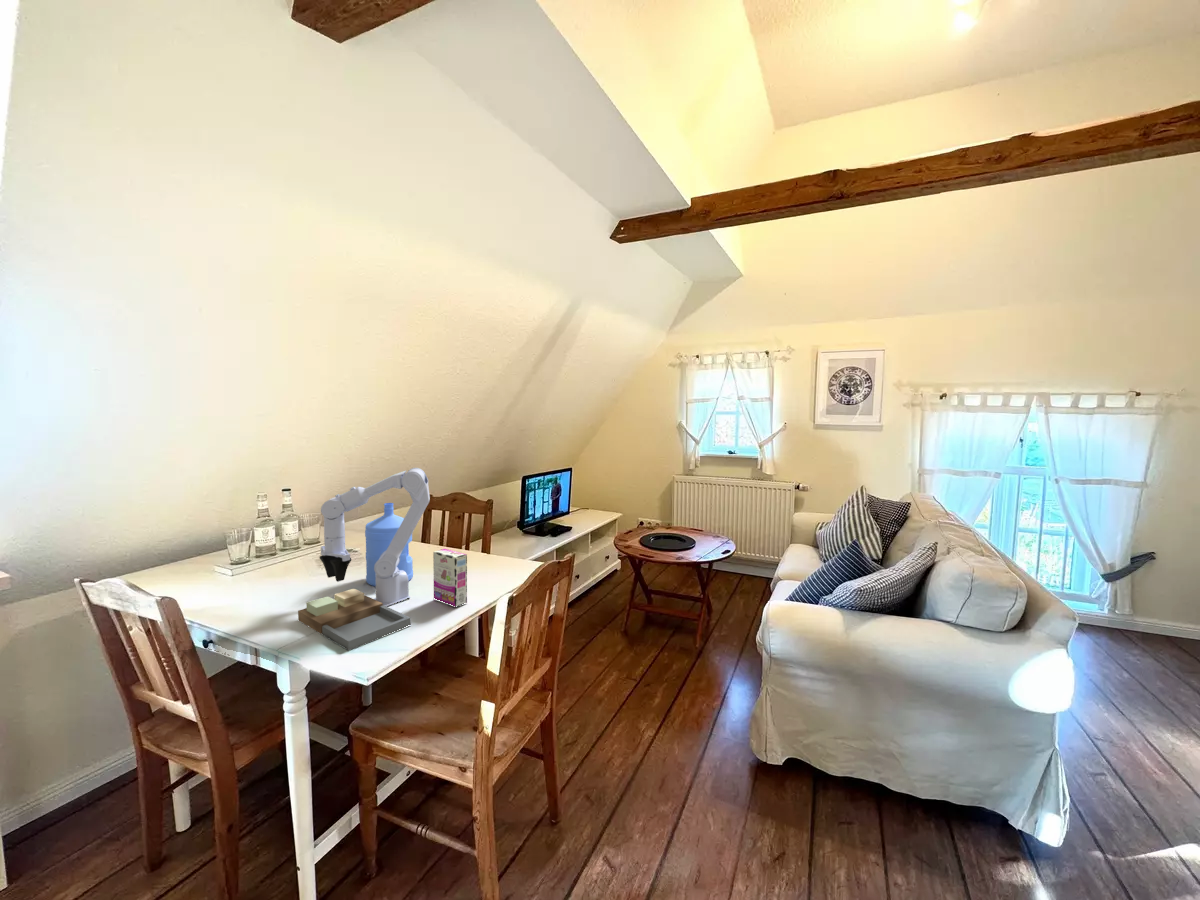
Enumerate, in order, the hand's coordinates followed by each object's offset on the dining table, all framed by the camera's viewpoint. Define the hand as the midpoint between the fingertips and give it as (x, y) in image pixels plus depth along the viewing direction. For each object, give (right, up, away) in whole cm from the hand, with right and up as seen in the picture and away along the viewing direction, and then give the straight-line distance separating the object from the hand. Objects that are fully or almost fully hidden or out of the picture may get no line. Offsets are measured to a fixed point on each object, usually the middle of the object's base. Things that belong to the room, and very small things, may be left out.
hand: (335, 578), depth 155 cm
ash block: (+6, -6, -4) cm, 10 cm away
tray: (+18, -10, -16) cm, 26 cm away
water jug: (+7, -7, +23) cm, 25 cm away
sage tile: (+2, -6, -11) cm, 13 cm away
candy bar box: (+35, -9, +5) cm, 36 cm away
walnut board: (+6, -9, -8) cm, 14 cm away
